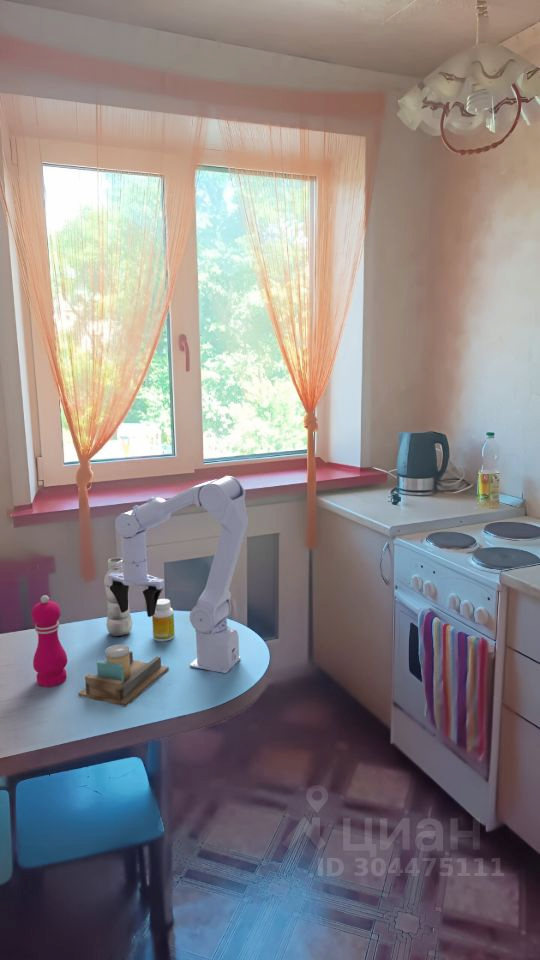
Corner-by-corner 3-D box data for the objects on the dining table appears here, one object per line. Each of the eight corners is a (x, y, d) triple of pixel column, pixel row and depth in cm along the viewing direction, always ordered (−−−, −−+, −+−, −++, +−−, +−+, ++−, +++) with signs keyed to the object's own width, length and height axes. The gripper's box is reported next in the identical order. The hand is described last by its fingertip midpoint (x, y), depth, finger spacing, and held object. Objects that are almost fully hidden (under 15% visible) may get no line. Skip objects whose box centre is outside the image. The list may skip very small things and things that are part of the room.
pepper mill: (75, 675, 147) (68, 591, 143) (55, 690, 140) (47, 603, 136) (48, 670, 149) (41, 588, 146) (27, 685, 143) (19, 599, 139)
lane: (168, 669, 149) (167, 651, 148) (125, 706, 134) (124, 686, 133) (124, 660, 153) (123, 643, 153) (78, 695, 138) (76, 676, 137)
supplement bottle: (172, 641, 163) (171, 605, 161) (151, 642, 163) (149, 605, 161) (176, 632, 168) (174, 597, 167) (155, 632, 169) (153, 597, 167)
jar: (135, 680, 143) (133, 646, 141) (122, 691, 138) (120, 656, 137) (116, 676, 145) (114, 643, 143) (103, 687, 140) (100, 652, 139)
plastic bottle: (123, 626, 173) (119, 554, 169) (137, 633, 168) (133, 559, 164) (102, 633, 169) (97, 560, 165) (116, 641, 164) (111, 565, 160)
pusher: (124, 690, 138) (123, 664, 137) (122, 693, 137) (120, 666, 136) (101, 685, 140) (99, 660, 139) (98, 688, 140) (96, 662, 138)
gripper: (99, 561, 154) (102, 615, 157) (151, 568, 149) (154, 623, 151) (116, 552, 160) (120, 604, 163) (167, 559, 155) (170, 612, 158)
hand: (137, 613), depth 158 cm, fingers open, 7 cm apart
